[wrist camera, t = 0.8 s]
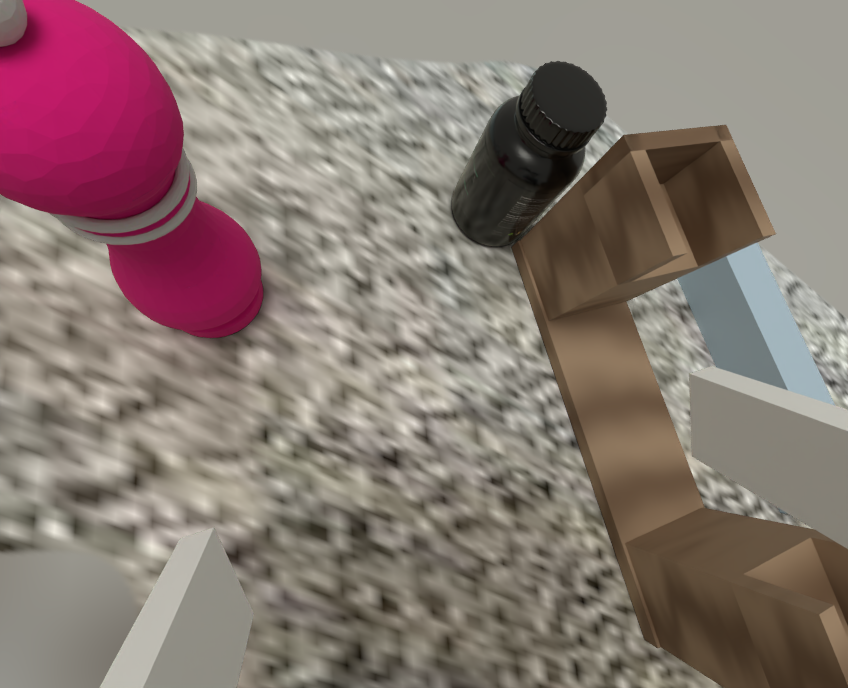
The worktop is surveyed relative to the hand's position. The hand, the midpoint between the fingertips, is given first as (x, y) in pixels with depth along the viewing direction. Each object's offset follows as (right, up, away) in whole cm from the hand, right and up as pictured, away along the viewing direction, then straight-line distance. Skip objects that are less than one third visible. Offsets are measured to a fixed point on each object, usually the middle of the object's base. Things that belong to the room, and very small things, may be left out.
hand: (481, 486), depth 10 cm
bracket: (+14, -2, +21) cm, 25 cm away
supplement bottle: (+4, +15, +23) cm, 28 cm away
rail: (+27, +1, +25) cm, 37 cm away
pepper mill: (-16, +7, +16) cm, 24 cm away
